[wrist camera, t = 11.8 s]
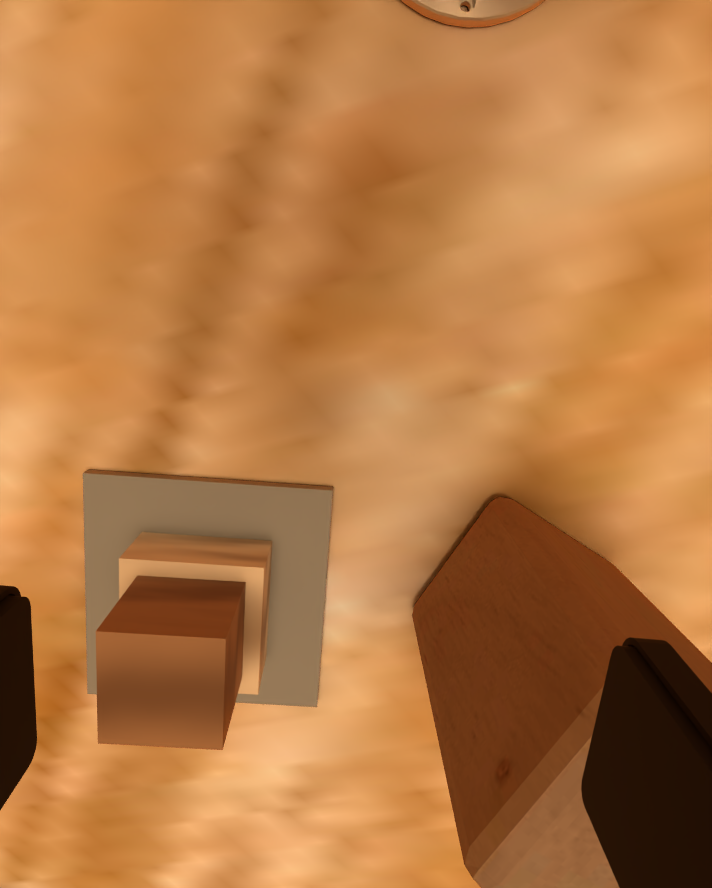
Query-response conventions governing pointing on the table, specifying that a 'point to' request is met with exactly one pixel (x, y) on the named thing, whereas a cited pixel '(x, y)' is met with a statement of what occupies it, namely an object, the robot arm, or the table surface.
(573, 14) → the table surface
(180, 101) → the table surface
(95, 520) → the grey flat square
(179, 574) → the birch base brick
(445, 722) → the wooden block
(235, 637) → the walnut cube
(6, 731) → the robot arm
